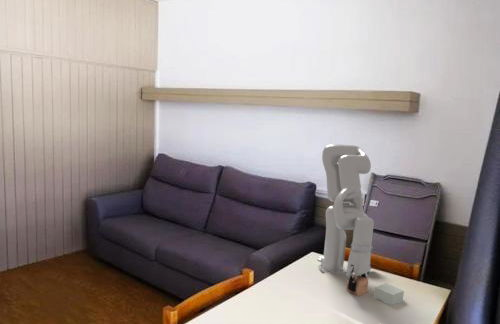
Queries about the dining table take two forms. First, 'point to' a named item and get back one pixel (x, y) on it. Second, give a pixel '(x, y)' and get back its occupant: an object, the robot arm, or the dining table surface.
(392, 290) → the base block
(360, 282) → the top block
